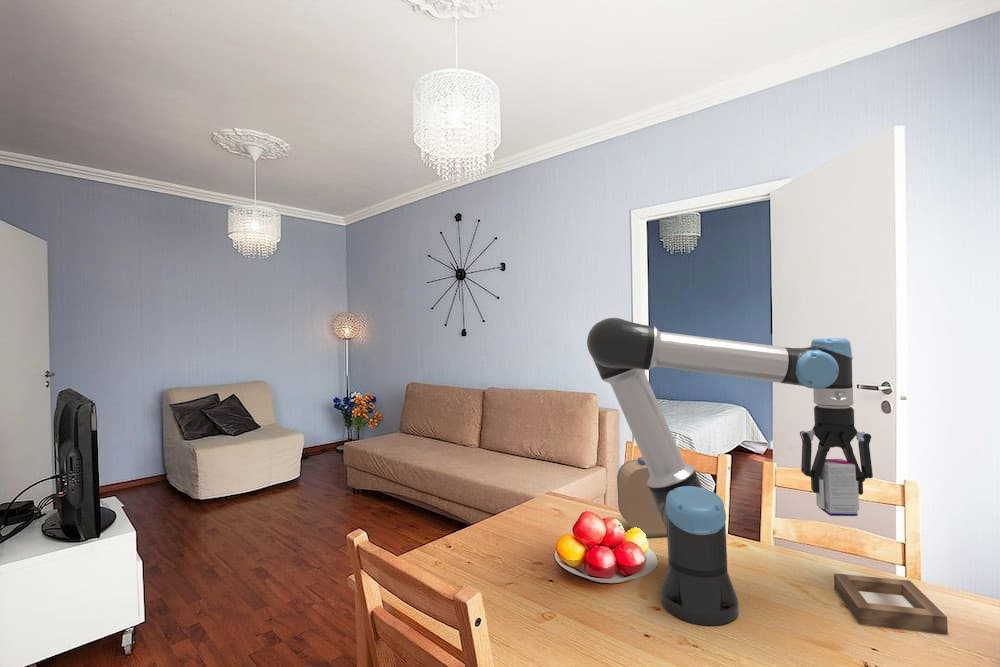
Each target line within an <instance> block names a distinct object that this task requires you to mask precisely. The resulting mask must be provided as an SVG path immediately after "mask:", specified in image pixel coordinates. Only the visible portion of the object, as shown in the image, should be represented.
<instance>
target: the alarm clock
mask: <svg viewBox="0 0 1000 667" xmlns="http://www.w3.org/2000/svg"><path fill="white" fill-rule="evenodd" d="M616 477H617V478H616V480H617V486H616V487H617V505H618V511H619V513H620V515H621V517H622V518H623V519H624V520H625V521H626V523H627V525H629V526H630V528H631V529H633V528H634V527H637V528H640V529H641V530H642V531H643V532H644V533H645V534H646V536H647V537H646V538H657V537H667V529H666V527H665V524H664V522H663V519H662V517H661V514H660V513H659V511H658V509H657V507H656V503H655V500H654V498H653V496H652V493H651V491H650V489H649V486H648V484H647V481H648V479H649V477H650V473H649V471H648V468H647V466H646V464H645V462H644V459H643V457H642V456H639V457H637V459H633V460H628V461H625V462H624V463H623V464H621V466H620V467H619V469H618V471H617V476H616Z"/></svg>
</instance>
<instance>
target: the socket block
mask: <svg viewBox="0 0 1000 667" xmlns="http://www.w3.org/2000/svg"><path fill="white" fill-rule="evenodd" d="M833 583H834V586H833V587H834V589H835V591H836V593H837V594H838V595H839V598H841V600H842V601H843V603H845V605H846V606H847V608H848V610H849V611H850V613H851V614H852V616H853V617H854V618H855V620H856V621H857V623H858V624H859V625H866V626H874V627H882V628H890V629H899V630H906V631H907V630H908V631H916V632H924V633H932V634H942V635H949V633H948V632H949V631H948V630H949V629H948V616H947V615H946V614H944V613H943V611H942V610H940V609H939V607H938V606H937V605H935V603H933V601H931V600H930V599H929V597H927V596H926V595H925V594H924V593H923V592H922V591H921V590H920V588H918V587H917V586H916V585H915V584H914V583H913V582H912V580H909V579H898V578H887V577H879V576H877V577H875V576H865V575H854V574H844V573H843V574H842V573H833Z"/></svg>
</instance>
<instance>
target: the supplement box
mask: <svg viewBox="0 0 1000 667" xmlns="http://www.w3.org/2000/svg"><path fill="white" fill-rule="evenodd" d="M820 478H821V479H823V480H824V505H825V509H821V508H820V507H819V506H818V509H820V510H821V511H823V512H824V513H825V514H827V515H829V516H830V517H857V516H858V511H857V492H856V471H855V465H854V464H851V463H849V462H847V460H846V459H843V458H826V459H825V462H824V465H823V468H822V472H821V475H820Z"/></svg>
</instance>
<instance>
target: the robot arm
mask: <svg viewBox="0 0 1000 667" xmlns="http://www.w3.org/2000/svg"><path fill="white" fill-rule="evenodd" d="M586 344H587V350H588V352H589V354H590V356H591V358H592V360H593V363H594V364H595V367H596V369H597V371H598V374H599V376H600V378H601V381H603V382H605V383H608V384H610V386H611V389H612V391H613V393H614V395H615V398H616V400H617V402H618V404H619V406H620V409H621V411H622V413H623V415H624V418H625V420H626V422H627V425H628V427H629V429H630V431H631V434H632V437H633V438H634V441H635V444H636V445H637V447H638V449H639V452H640V454H641V457H643V459H644V462H645V464H646V466H647V468H648V471H649V473H650V477H649V479H648V481H647V484H648V486H649V489H650V491H651V493H652V496H653V498H654V500H655V503H656V507H657V509H658V511H659V513H660V514H661V517H662V519H663V522H664V524H665V527H666V529H667V536H666V537H667V554H668V555H667V557H668V565H667V569H666V572H665V576H664V579H663V582H662V586H661V592H660V593H661V602H662V606H663V607H664V609H665V610H667V612H669V614H671V615H673V616H674V617H676V618H678V619H680V620H683V621H686V622H688V623H692V624H697V625H703V626H719V625H721V626H723V625H725V624H729V623H731V622H733V621H734V620H735V619H737V617H738V616H739V601H738V600H739V599H738V597H737V593H736V591H735V589H734V586H733V583H732V581H731V577H730V575H729V572H728V554H727V553H728V551H727V527H726V524H727V523H726V520H727V512H726V510H725V503H724V501H723V499H722V498H721V497H720V496H719V494H717V493H715V492H713V491H712V490H708V489H707V488H704V487H703V485H702V484H701V481H700V479H699V477H698V474H697V472H696V470H695V467H694V466H693V465H691V464H688V463H686V462H685V461H684V458H683V457H682V454H681V451H680V449H679V447H678V446H677V445H678V444H677V443H676V441H675V438H674V436H673V434H672V432H671V429H670V426H669V425H668V422H667V420H666V417H665V416H664V412H663V410H662V409H661V407H660V404H659V402H658V399H657V397H656V396H655V393H654V391H653V388H652V386H651V384H650V381H649V379H648V377H647V374H646V373H645V371H650V370H652V369H653V368H655V367H659V368H666V369H667V368H668V369H672V370H681V371H688V372H689V371H690V372H695V373H697V372H698V373H703V374H711V375H719V376H720V375H721V376H726V377H727V376H728V377H734V378H742V379H750V380H755V381H756V380H757V381H764V382H773V383H777V384H778V383H780V384H786V385H792V386H800V387H805V388H807V389H813V403H814V404H815V405H814V407H813V413H814V414H813V415H814V418H813V420H814V426H813V428H812V430H807V431H804V430H801V431H799V436H800V438H801V442H802V443H801V466H800V467H801V469H800V471H801V473H803V475H805V476H806V477H810V486H811V489H810V490H812V492H813V493H815V497H816V499H815V500H816V506H817V507H818V508H819V507H820V508H821V509H820V508H819V509H820V510H822V509H825V505H824V480H823V479H821V478H820V475H821V472H822V468H823V465H824V462H825V459H827V455H828V453H829V452H830V450H831V449H832V448H840V449H841V451H843V452H842V453H843V455H844V457H845V461H847V462H849V463H851V464H854V465H855V471H856V492H857V512H858V511H860V501H859V499H860V498H859V497H860V496H859V495H864V485H863V484H864V483H863V482H865V481H866V479H872V478H873V476H874V475H873V467H872V457H871V450H870V449H871V448H870V443H871V441H872V440H871V439H872V435H871V434H870V433H867V432H866V431H858V430H857V429H856V426H855V409H854V408H853V407H852V406H853V405H854V386H853V358H854V357H853V354H852V346H851V342H850V340H849V339H847V338H845V337H828V338H827V337H825V338H813V339H812V340H811V344H810V346H809V347H785V346H780V345H779V346H778V345H772V344H771V345H770V344H763V343H756V342H755V343H752V342H745V341H737V340H730V339H729V340H728V339H723V338H713V337H705V336H699V335H698V336H697V335H696V336H695V335H691V334H689V335H688V334H681V333H673V332H664V331H660V330H659V329H658V328H657V327H656V326H654V325H646V324H641V323H636V322H633V321H629V320H625V319H622V318H619V317H608V318H604V319H602V320H600V321H598V322H597V323H595V324H594V325H593V326H592V327H591V329H590V330H589V333H588V335H587V339H586ZM814 436H815V437H816V439H818V446H817V450H816V454H815V456H814V460H813V463H812V448H813V447H812V445H813V444H812V441H813V440H814ZM854 438H856V440H857V442H858V443H857V444H858V453H859V460H860V467H859V463H858V461H857V459H856V455H855V454H854V450H853V446H852V444H851V442H852V441H853V440H854Z"/></svg>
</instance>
